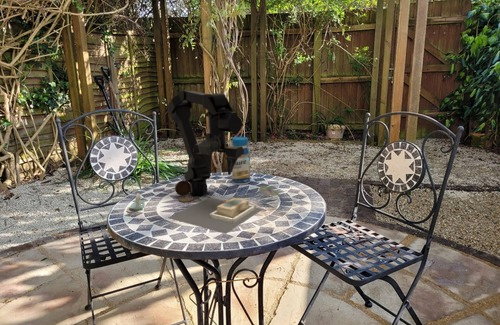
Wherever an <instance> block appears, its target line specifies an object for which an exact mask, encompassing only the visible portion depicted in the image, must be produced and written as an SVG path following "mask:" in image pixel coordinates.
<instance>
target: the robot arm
mask: <svg viewBox="0 0 500 325" xmlns="http://www.w3.org/2000/svg"><path fill="white" fill-rule="evenodd" d="M226 96H227V95H226V94H225V93H222V92H221V93H219V92H218V93H205V92H200V91H196V90H193V89H182V90H179V92H178V94H177V95H175V96H174V97H173V98H171V99H170V101H169V103H168V105H167V112H168V113H169V115H170V118H171V120H172V121H174V123H175V124H177V126H178V129H179V133H180V135H181V138H182V141H183V143H184V148H185V150H186V153H187V156H188V160H187V161H188V162H187V170H186V172H185V174H184V180H185V181H187V182H189V183H190V185H191V191H190V193H189V194H188V195H187V196H192V197H196V196H198V197H199V198H201V197H204V196H206V195H209V194H210V192H209V191H208V184H207V180H210V177H211V172H212V158H213V153H221V154H225V156H226V157H224V158H225V159H226V162H227V163H226V164H227V174H228V175H229V176H230V175H232V170H233V167H234V165H235V163H236V161H237V159H238V157H240V156H241V155H243V154H244V149H243V147H241V146H233V145H232V146H229V143H227V138H226V137H227V136H228V134H229V133H232V134H236V133H239V132H240V131H241V129H242V127H243V121H242V119H241V117H240V116H238V112H237V111H234V110H233V107H232V106H231V104H230V102H229V100H228V98H227V97H226ZM194 104H197V105H201V106H202V108H203V109H205V110H206V111H207V112H206V113H205V114H204V116H205V117H207V118H208V133H206V138H205V139H204V140H202V141H201V142H200V143H198V141H197V138H196V135H195V131H194V129H193V126H192V123H191V120H190V119H191V115H192V108H193V107H194ZM198 197H197V198H198Z"/></svg>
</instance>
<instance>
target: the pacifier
mask: <svg viewBox="0 0 500 325" xmlns="http://www.w3.org/2000/svg"><path fill="white" fill-rule="evenodd" d="M144 207H145V201H144V200H141V194H140V193H139V192H138V193H136V196H135V201H133V203H131V205H130V206H128V207H127V208H126V212H127V213H129V214H130V213H131V214H132V213H135V212H138V211H141V210H143V208H144ZM130 209H131V210H130Z"/></svg>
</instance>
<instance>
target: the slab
mask: <svg viewBox="0 0 500 325" xmlns="http://www.w3.org/2000/svg"><path fill="white" fill-rule="evenodd" d="M225 201H226V202H225V203H223V204H221V205H219V206H217V215H221V216H225V217H229V218H234V217H236V216H238V215H239V214H241V213H242V212H244V211H246V210H247V209H249V207H248V204H249V200H248V199H243V198H238V197H232V198H230V199H229V200H225Z"/></svg>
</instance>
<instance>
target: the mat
mask: <svg viewBox="0 0 500 325" xmlns="http://www.w3.org/2000/svg"><path fill="white" fill-rule="evenodd" d="M226 201H227V200H221V199H218V198H217V199H216V198H212V197H207V198H206V199H203V200H201V201H199V202H197V203H195V204H193V205H191V206H189V207H187V208H185V209H183V210H181V211H179V212H177V213H176V212H175V213H174V214H172V215H170V216H168V217H167V218H168V219H171V220H174V221H178V222H181V223H185V224H189V225H192V226H197V227H200V228H203V229H207V230H212V231H215V232H218V233H220V234H221V233H222V234H228V233H230V232H231V231H232V230H234V229H235V228H237V227H238V226H240V225H241V224H243V223H244V222H246V221H247V220H249V219H250V218H252V217H254V216H256V214H258V213H260V212H261V211H263V210H264V209H263V208H261V207H260V208H259V207H257V206H256V205H254V204H253V205H252V204H249V203H248V207H249V209H247V210H246V211H244V212H242V213H241V214H239V215H238V216H236V217H234V218H229V217H225V216H221V215H217V206H219V205H221V204H223V203H225V202H226Z"/></svg>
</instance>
